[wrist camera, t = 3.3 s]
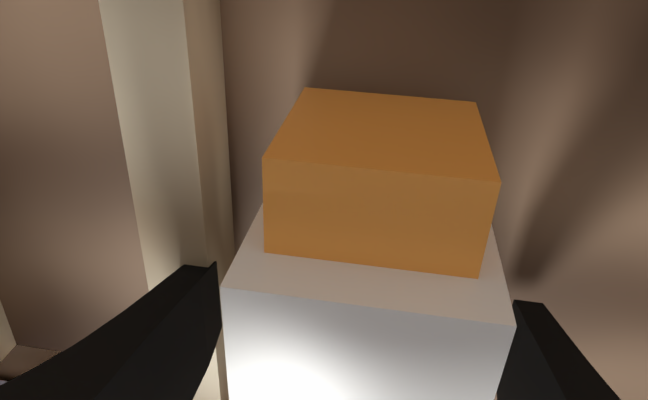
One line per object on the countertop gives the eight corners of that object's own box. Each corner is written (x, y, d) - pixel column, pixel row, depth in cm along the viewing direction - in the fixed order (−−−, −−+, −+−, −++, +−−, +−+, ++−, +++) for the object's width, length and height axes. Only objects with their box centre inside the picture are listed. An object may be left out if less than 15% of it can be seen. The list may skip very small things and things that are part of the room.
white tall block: (424, 407, 15) (428, 608, 11) (290, 386, 15) (243, 572, 11) (491, 88, 10) (548, 222, 6) (294, 72, 11) (211, 185, 6)
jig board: (627, 410, 15) (668, 505, 13) (-45, 310, 18) (-117, 375, 15) (856, -31, 9) (1016, -9, 7) (-217, -89, 12) (-383, -88, 9)
